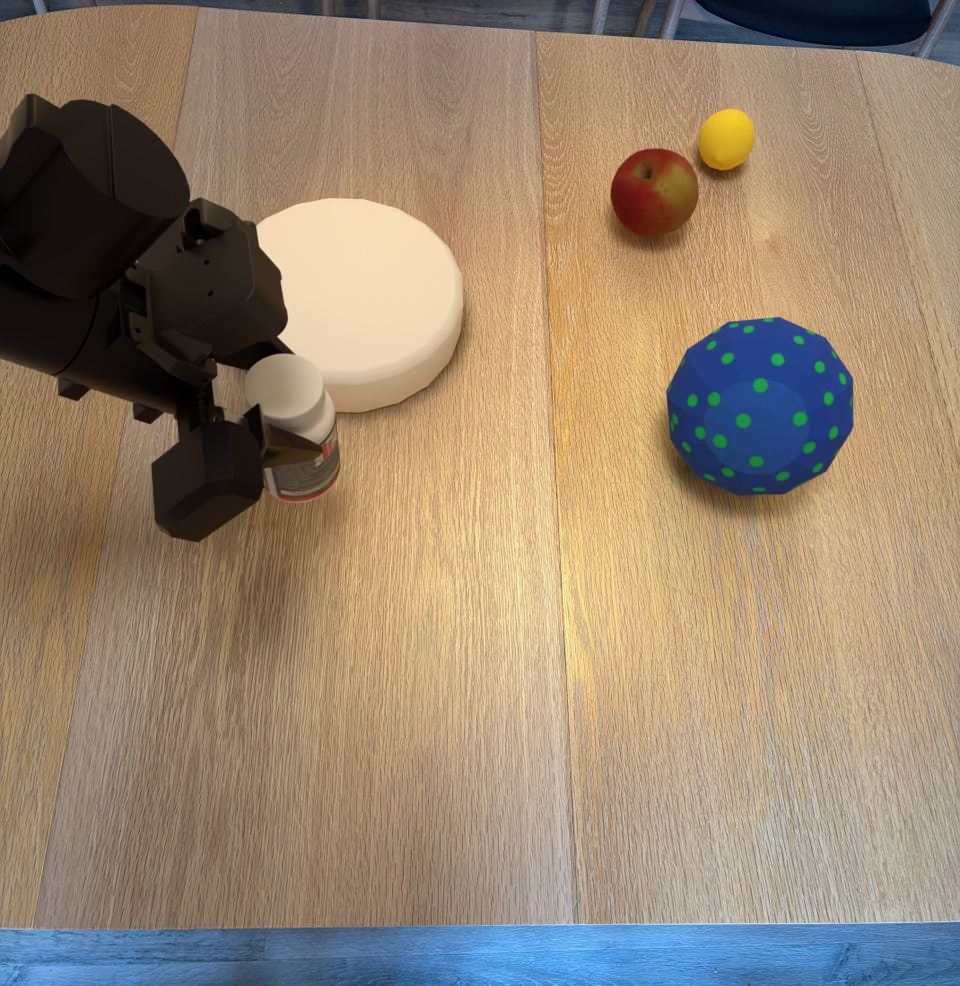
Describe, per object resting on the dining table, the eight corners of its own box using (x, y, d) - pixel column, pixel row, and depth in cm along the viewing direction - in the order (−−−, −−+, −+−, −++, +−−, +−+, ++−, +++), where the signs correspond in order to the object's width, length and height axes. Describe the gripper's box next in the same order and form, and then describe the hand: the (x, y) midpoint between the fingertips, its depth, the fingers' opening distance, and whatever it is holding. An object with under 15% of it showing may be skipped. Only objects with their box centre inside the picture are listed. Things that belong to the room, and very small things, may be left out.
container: (198, 393, 69) (186, 358, 65) (258, 216, 79) (251, 175, 75) (444, 430, 70) (447, 397, 66) (474, 249, 79) (478, 210, 75)
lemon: (735, 191, 86) (755, 147, 81) (684, 174, 86) (701, 129, 82) (749, 147, 89) (769, 102, 84) (699, 131, 90) (716, 86, 85)
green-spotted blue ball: (870, 315, 69) (890, 350, 56) (824, 477, 74) (833, 545, 61) (693, 288, 73) (673, 315, 59) (662, 445, 78) (637, 501, 65)
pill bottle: (355, 453, 60) (350, 369, 51) (316, 518, 57) (304, 441, 49) (282, 422, 61) (265, 333, 52) (240, 485, 58) (215, 402, 49)
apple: (610, 188, 85) (630, 119, 78) (690, 209, 84) (717, 142, 77) (594, 242, 81) (613, 174, 74) (677, 264, 81) (705, 199, 73)
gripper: (177, 394, 34) (436, 485, 46) (151, 82, 42) (376, 228, 54) (35, 515, 39) (299, 569, 51) (36, 218, 47) (263, 323, 59)
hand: (311, 413), depth 54 cm, fingers closed on pill bottle, 6 cm apart
